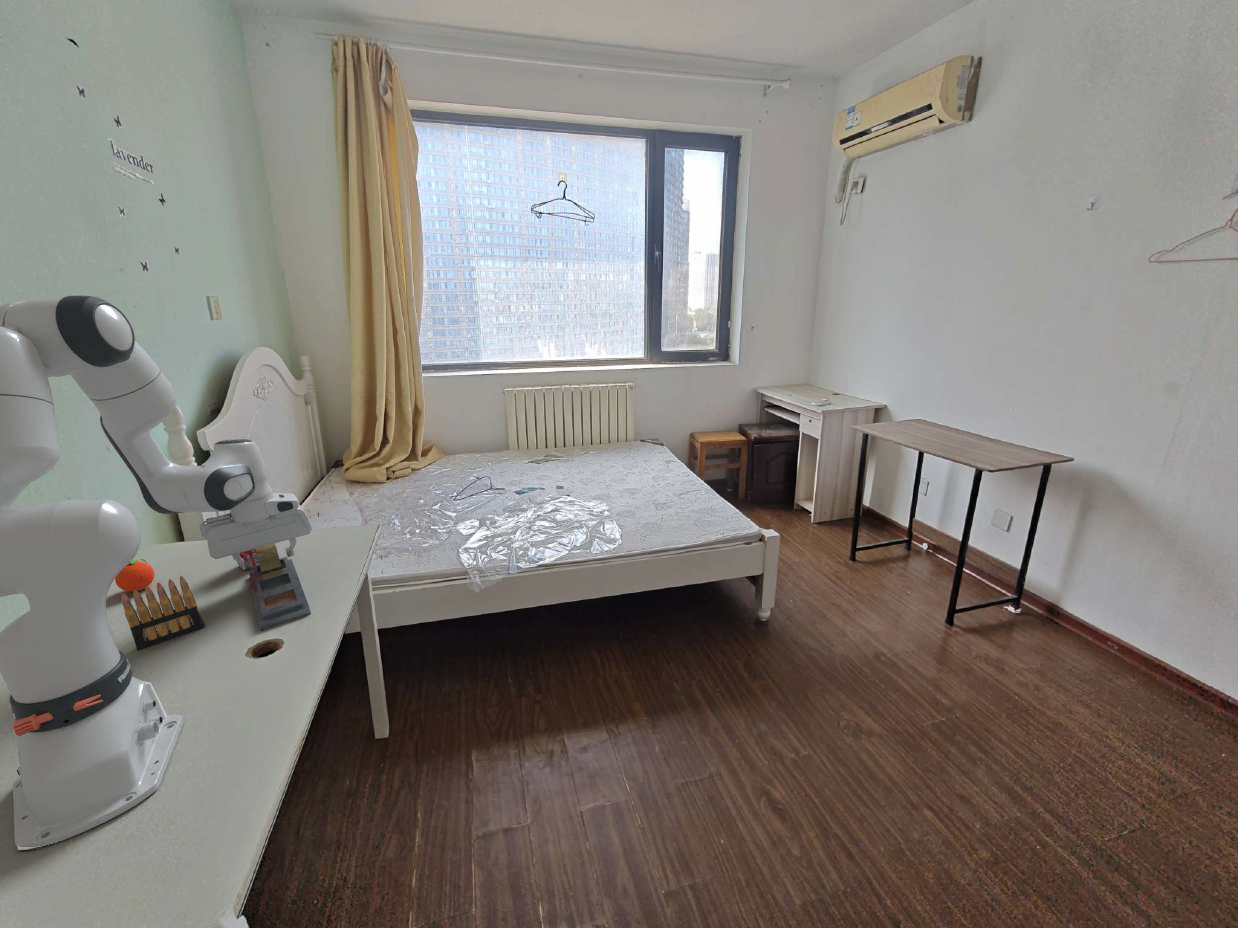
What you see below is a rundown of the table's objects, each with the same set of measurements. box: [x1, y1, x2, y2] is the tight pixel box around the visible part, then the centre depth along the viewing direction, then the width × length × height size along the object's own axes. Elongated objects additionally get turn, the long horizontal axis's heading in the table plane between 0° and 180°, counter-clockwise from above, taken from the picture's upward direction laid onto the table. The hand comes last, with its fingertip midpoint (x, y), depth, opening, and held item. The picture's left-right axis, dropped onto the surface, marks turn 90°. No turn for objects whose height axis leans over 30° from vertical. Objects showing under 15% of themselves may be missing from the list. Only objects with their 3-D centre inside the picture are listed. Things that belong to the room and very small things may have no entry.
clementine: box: [114, 558, 156, 593], centre depth 127 cm, size 8×7×7 cm
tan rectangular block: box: [255, 543, 282, 575], centre depth 128 cm, size 4×4×6 cm
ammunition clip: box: [121, 575, 206, 651], centre depth 107 cm, size 11×2×12 cm, turn 130°
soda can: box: [236, 549, 259, 570], centre depth 135 cm, size 7×7×12 cm
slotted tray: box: [248, 556, 312, 631], centre depth 122 cm, size 28×9×3 cm, turn 36°
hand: (269, 561), depth 128 cm, fingers open, 8 cm apart
